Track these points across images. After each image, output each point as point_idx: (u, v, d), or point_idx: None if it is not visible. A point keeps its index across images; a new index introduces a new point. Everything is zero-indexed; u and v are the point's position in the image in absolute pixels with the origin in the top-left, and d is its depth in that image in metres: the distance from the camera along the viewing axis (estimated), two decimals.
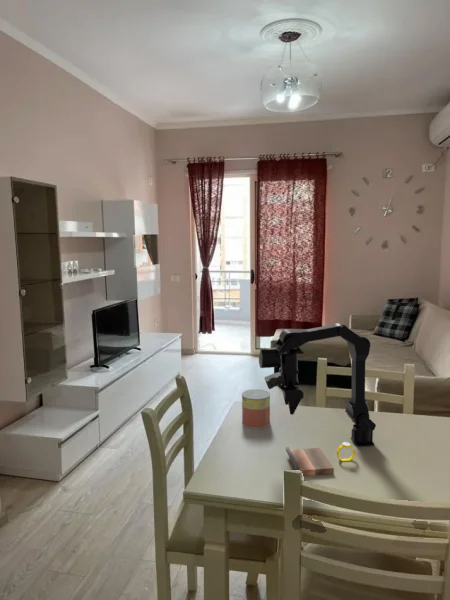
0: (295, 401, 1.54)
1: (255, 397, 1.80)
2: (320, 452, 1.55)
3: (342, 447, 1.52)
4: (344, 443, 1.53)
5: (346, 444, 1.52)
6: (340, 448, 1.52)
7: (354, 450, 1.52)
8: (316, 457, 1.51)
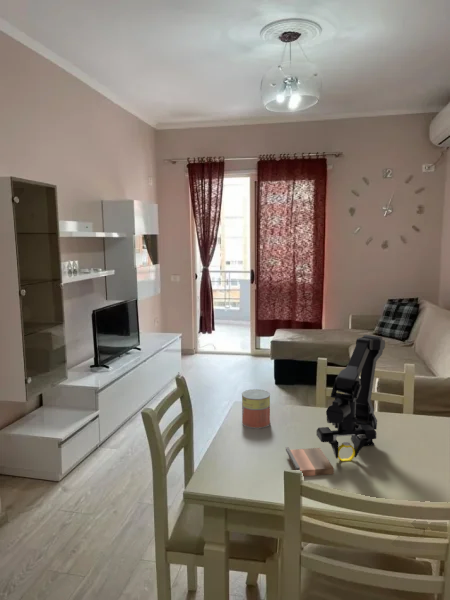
0: None
1: (255, 397, 1.80)
2: (320, 452, 1.55)
3: (342, 447, 1.52)
4: (344, 443, 1.53)
5: (346, 444, 1.52)
6: (340, 448, 1.52)
7: (354, 450, 1.52)
8: (316, 457, 1.51)
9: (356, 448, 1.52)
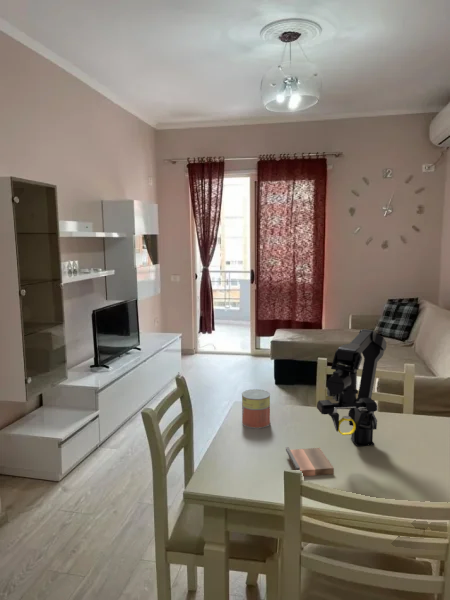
0: None
1: (255, 397, 1.80)
2: (320, 452, 1.55)
3: (343, 420, 1.50)
4: (345, 416, 1.51)
5: (347, 417, 1.51)
6: (341, 421, 1.50)
7: None
8: (316, 457, 1.51)
9: (357, 421, 1.51)
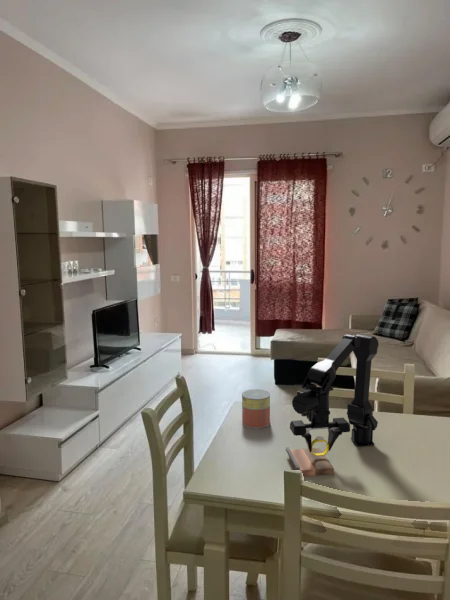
0: None
1: (255, 397, 1.80)
2: (320, 452, 1.55)
3: (316, 441, 1.49)
4: (318, 437, 1.50)
5: (320, 438, 1.50)
6: (314, 442, 1.49)
7: (328, 444, 1.50)
8: (316, 457, 1.51)
9: (330, 441, 1.50)
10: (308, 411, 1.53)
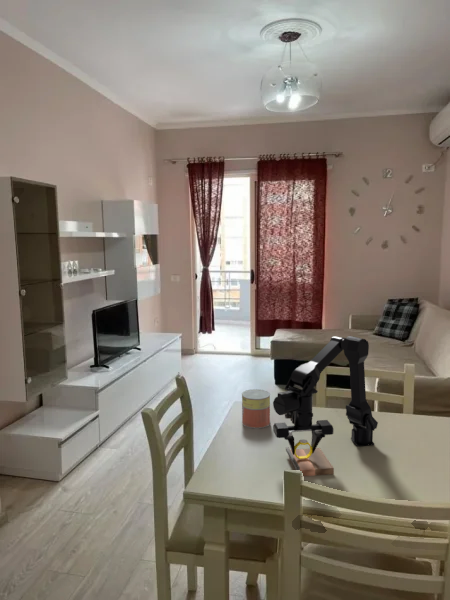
0: None
1: (255, 397, 1.80)
2: (320, 452, 1.55)
3: (299, 444, 1.49)
4: (301, 440, 1.50)
5: (303, 441, 1.49)
6: (297, 445, 1.49)
7: (311, 447, 1.49)
8: (316, 457, 1.51)
9: (313, 444, 1.49)
10: (292, 413, 1.52)
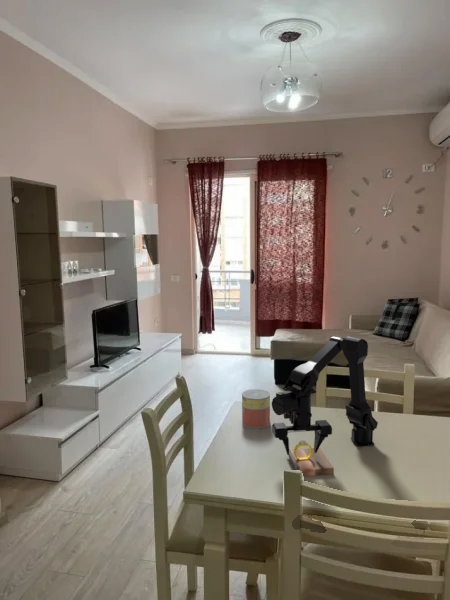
0: None
1: (255, 397, 1.80)
2: (320, 452, 1.55)
3: (299, 446, 1.49)
4: (301, 441, 1.50)
5: (303, 442, 1.49)
6: (297, 447, 1.49)
7: (311, 448, 1.49)
8: (316, 457, 1.51)
9: (316, 444, 1.49)
10: (290, 413, 1.52)
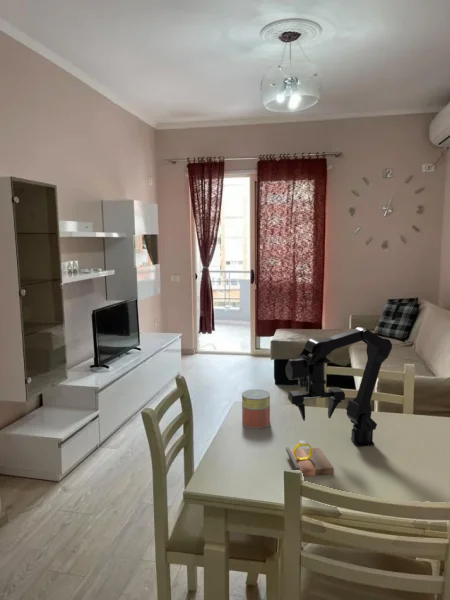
0: None
1: (255, 397, 1.80)
2: (320, 452, 1.55)
3: (299, 446, 1.49)
4: (301, 441, 1.50)
5: (303, 442, 1.49)
6: (297, 447, 1.49)
7: (311, 448, 1.49)
8: (316, 457, 1.51)
9: (330, 409, 1.58)
10: (305, 382, 1.61)
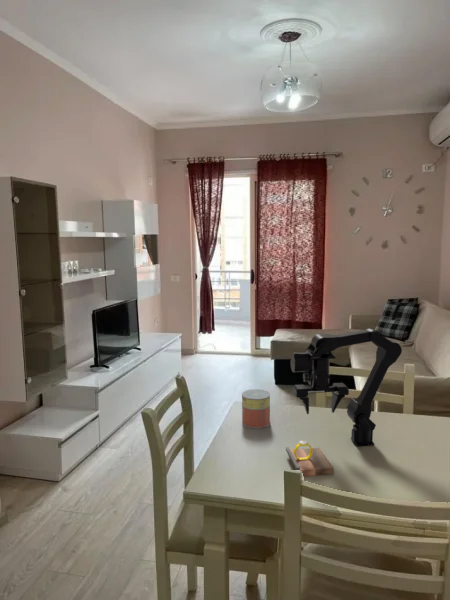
0: None
1: (255, 397, 1.80)
2: (320, 452, 1.55)
3: (299, 446, 1.49)
4: (301, 441, 1.50)
5: (303, 442, 1.49)
6: (297, 447, 1.49)
7: (311, 448, 1.49)
8: (316, 457, 1.51)
9: (334, 404, 1.62)
10: (310, 377, 1.65)
